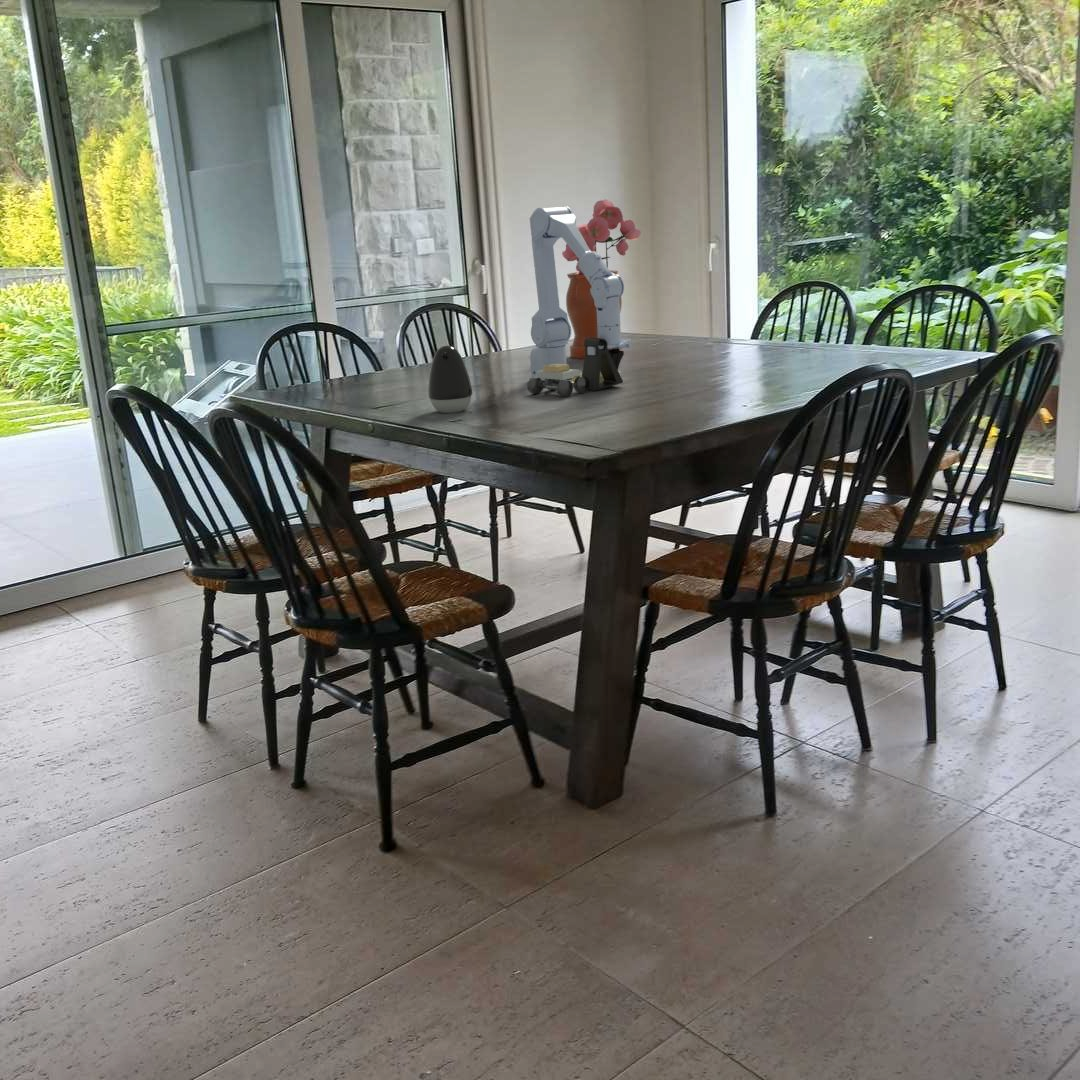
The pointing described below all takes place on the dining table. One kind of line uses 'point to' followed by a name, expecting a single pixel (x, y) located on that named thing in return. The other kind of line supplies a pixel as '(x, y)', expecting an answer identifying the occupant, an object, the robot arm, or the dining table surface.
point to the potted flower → (579, 287)
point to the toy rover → (558, 380)
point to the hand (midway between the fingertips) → (611, 380)
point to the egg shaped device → (449, 381)
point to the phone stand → (599, 366)
